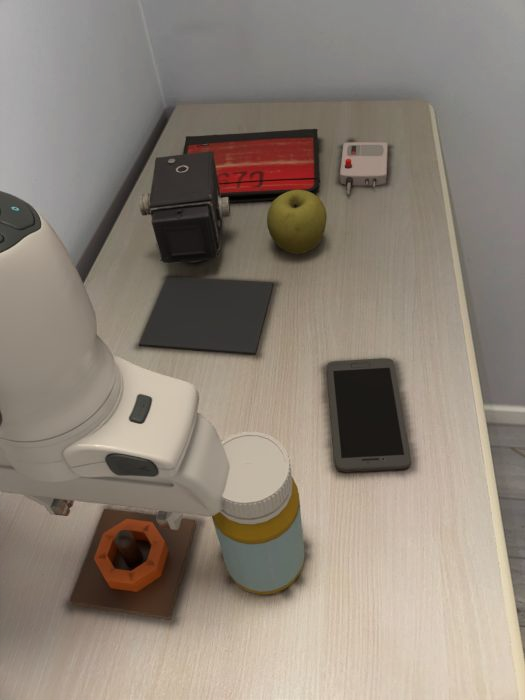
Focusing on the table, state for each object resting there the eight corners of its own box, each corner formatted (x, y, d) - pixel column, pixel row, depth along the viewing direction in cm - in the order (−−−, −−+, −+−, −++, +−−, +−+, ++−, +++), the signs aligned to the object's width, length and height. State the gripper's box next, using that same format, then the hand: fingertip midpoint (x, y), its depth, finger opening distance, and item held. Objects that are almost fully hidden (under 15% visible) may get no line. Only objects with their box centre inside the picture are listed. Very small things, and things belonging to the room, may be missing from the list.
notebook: (185, 134, 107) (317, 126, 105) (187, 147, 109) (318, 139, 107) (173, 196, 97) (320, 188, 95) (176, 209, 98) (320, 202, 97)
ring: (92, 585, 59) (86, 577, 57) (114, 525, 63) (109, 516, 61) (155, 595, 58) (151, 586, 56) (173, 533, 61) (170, 523, 60)
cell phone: (393, 361, 74) (393, 356, 73) (412, 469, 64) (412, 465, 64) (325, 365, 74) (325, 360, 74) (335, 473, 65) (335, 469, 64)
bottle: (286, 512, 63) (274, 414, 52) (317, 578, 58) (311, 486, 47) (216, 540, 62) (188, 446, 51) (242, 610, 57) (217, 523, 46)
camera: (160, 225, 97) (153, 287, 86) (143, 151, 89) (132, 207, 78) (234, 217, 97) (236, 277, 85) (223, 141, 89) (223, 197, 78)
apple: (262, 260, 88) (256, 215, 83) (280, 223, 93) (276, 178, 88) (318, 268, 86) (316, 222, 81) (334, 230, 91) (333, 185, 86)
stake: (71, 604, 59) (52, 578, 55) (106, 512, 65) (90, 483, 61) (170, 620, 57) (157, 594, 53) (196, 524, 63) (186, 494, 59)
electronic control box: (387, 141, 105) (388, 123, 103) (385, 200, 94) (386, 182, 92) (344, 141, 106) (344, 124, 104) (338, 200, 96) (337, 182, 93)
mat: (139, 346, 79) (138, 344, 79) (167, 278, 87) (166, 276, 87) (255, 355, 77) (255, 352, 76) (273, 284, 85) (273, 282, 84)
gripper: (-101, 436, 45) (-16, 534, 55) (196, 467, 40) (228, 567, 51) (-55, 364, 49) (16, 468, 59) (219, 386, 45) (245, 493, 55)
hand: (116, 514), depth 55 cm, fingers open, 8 cm apart
